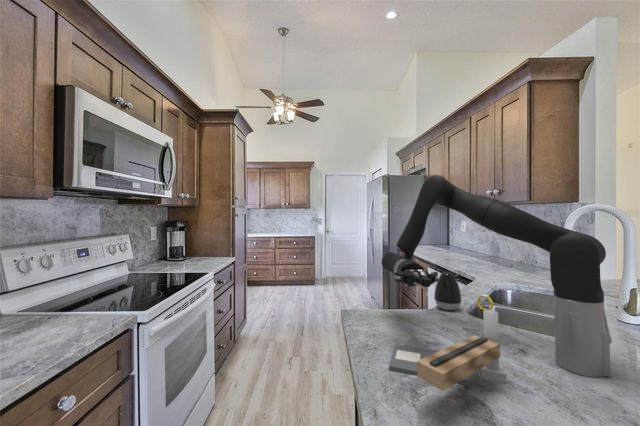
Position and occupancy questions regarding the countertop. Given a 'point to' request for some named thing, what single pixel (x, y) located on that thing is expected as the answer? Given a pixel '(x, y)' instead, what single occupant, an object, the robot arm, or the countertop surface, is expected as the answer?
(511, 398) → the countertop surface
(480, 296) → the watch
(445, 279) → the black egg-shaped device
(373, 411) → the countertop surface
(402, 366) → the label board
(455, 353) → the brown long rectangular block
